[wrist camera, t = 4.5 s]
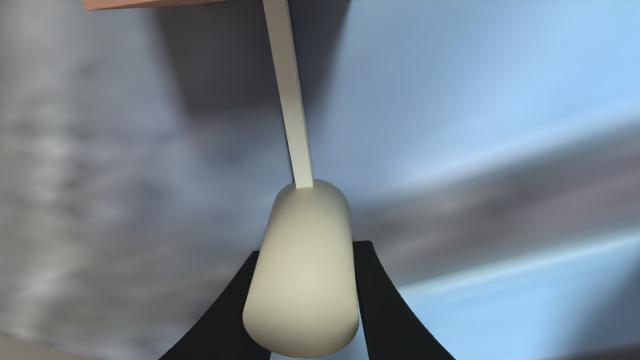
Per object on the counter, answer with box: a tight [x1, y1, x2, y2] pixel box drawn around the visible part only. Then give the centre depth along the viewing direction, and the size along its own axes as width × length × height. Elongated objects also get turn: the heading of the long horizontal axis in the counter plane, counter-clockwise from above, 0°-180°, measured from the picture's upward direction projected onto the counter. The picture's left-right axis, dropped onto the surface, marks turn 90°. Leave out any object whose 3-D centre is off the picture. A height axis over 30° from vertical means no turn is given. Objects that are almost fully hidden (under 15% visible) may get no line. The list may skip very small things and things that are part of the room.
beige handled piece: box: [82, 0, 359, 358], centre depth 8 cm, size 4×14×5 cm, turn 7°
